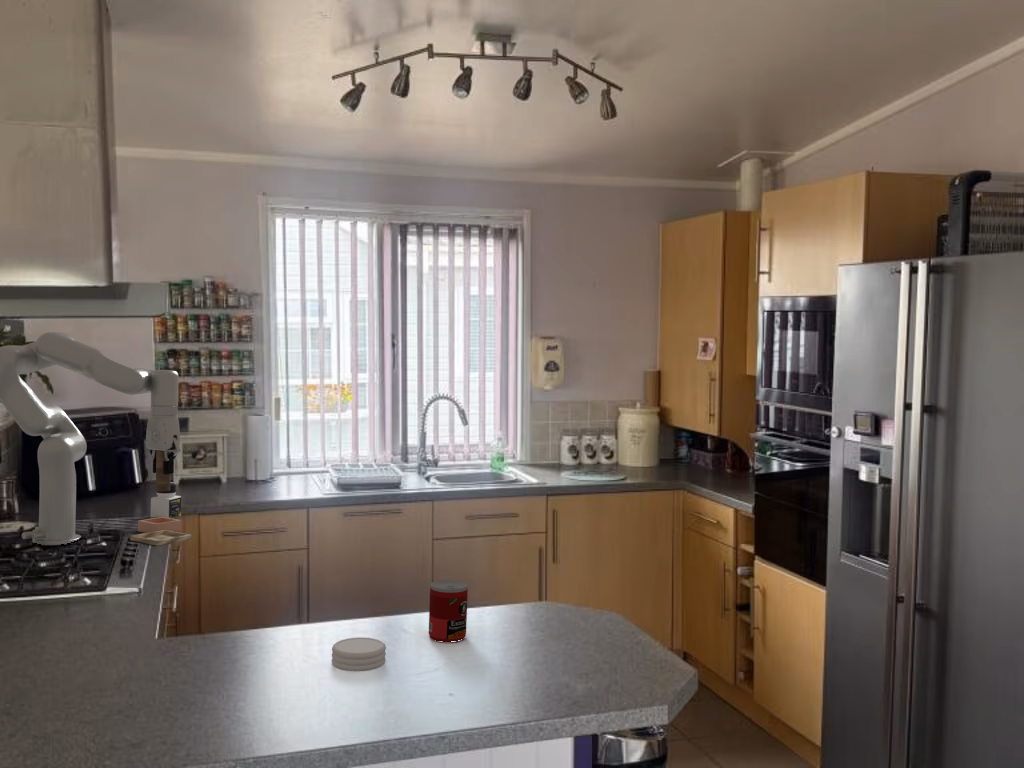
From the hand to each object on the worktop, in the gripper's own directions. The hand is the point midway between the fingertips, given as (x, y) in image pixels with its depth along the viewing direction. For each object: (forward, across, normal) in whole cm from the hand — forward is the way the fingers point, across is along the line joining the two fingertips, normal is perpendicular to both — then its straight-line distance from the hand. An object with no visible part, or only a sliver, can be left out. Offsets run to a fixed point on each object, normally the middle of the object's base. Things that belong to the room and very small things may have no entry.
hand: (163, 472), depth 261 cm
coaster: (+21, +114, -45) cm, 124 cm away
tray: (+21, 0, 0) cm, 21 cm away
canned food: (+21, +119, -23) cm, 123 cm away
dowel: (+5, 0, 0) cm, 5 cm away
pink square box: (+21, -11, +8) cm, 25 cm away
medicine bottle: (+21, -31, +26) cm, 46 cm away
